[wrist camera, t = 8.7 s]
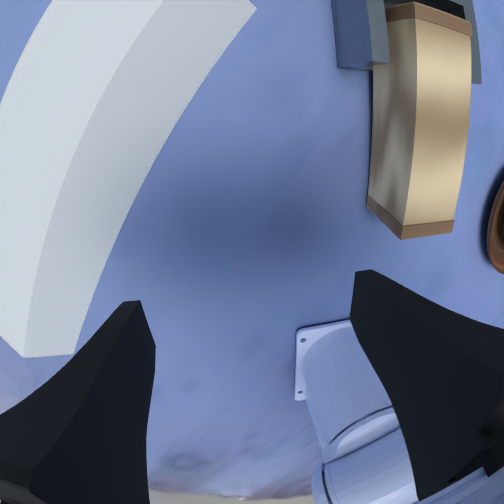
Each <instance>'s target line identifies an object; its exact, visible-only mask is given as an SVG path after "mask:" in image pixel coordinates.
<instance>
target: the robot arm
mask: <svg viewBox="0 0 504 504" xmlns="http://www.w3.org/2000/svg"><path fill="white" fill-rule="evenodd" d="M349 319H350V320H345V321H340V322H335V323H330V324H324V325H319V326H313V327H308V328H302V329H300V330H298V331H297V334H296V365H295V391H294V397H295V400H297V401H300V400H305V399H306V402H307V405H308V409H309V412H310V415H311V418H312V421H313V424H314V428H315V431H316V434H317V437H318V440H319V443H320V445H321V447H322V449H321V450H320V452H321V455H322V458H323V462H321V463H319V464H317V465H316V467H315V470H314V474H313V476H312V483H311V484H312V493H313V497H314V501H315V503H316V504H504V329H502V328H498V327H494V326H491V325H488V324H485V323H481V322H478V321H476V320H473V319H470V318H468V317H465V316H463V315H460V314H458V313H455V312H453V311H451V310H448V309H446V308H444V307H442V306H440V305H438V304H436V303H434V302H432V301H430V300H428V299H426V298H424V297H422V296H420V295H419V294H417V293H415V292H413V291H411V290H409V289H408V288H406V287H404V286H402V285H400V284H399V283H397V282H395V281H393V280H391V279H390V278H388V277H386V276H384V275H382V274H380V273H378V272H376V271H374V270H365V271H358V272H355V280H354V289H353V297H352V304H351V311H350V318H349ZM302 338H304V339H302ZM301 339H302V340H301ZM155 351H156V345H155V343H154V340H153V337H152V334H151V331H150V329H149V326H148V323H147V320H146V317H145V314H144V311H143V308H142V305H141V301H140V300H137V301H127V302H123V303H122V304H121V305H120V306H119V307H118V308H117V309H116V310H115V311H114V312H113V313H112V314H111V316H110V317H109V318H108V319H107V320H106V321H105V322H104V324H103V325H102V326H101V327H100V328H99V329H98V330H97V332H96V333H95V334H94V335H93V336H92V337H91V338H90V340H89V341H88V342H87V343H86V344H85V345H84V346H83V347H82V348H81V349H80V350H79V351H78V352H77V353H76V354H75V356H74V357H73V358H72V359H71V360H70V361H69V362H68V363H67V364H66V365H65V366H64V367H63V368H62V369H61V370H60V371H58V372H57V373H56V374H55V375H54V376H53V377H52V378H51V379H49V380H48V381H47V382H46V383H45V384H43V385H42V386H41V387H40V388H38V389H37V390H36V391H34V392H33V393H32V394H30V395H29V396H28V397H27V398H25V399H24V400H22V401H21V402H20V403H18V404H17V405H15V406H14V407H12V408H10V409H9V410H7V411H6V412H4V413H2V414H1V415H0V500H1V503H0V504H150V501H149V493H148V480H147V462H146V434H147V423H148V415H149V408H150V401H151V395H152V388H153V381H154V374H155Z"/></svg>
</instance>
